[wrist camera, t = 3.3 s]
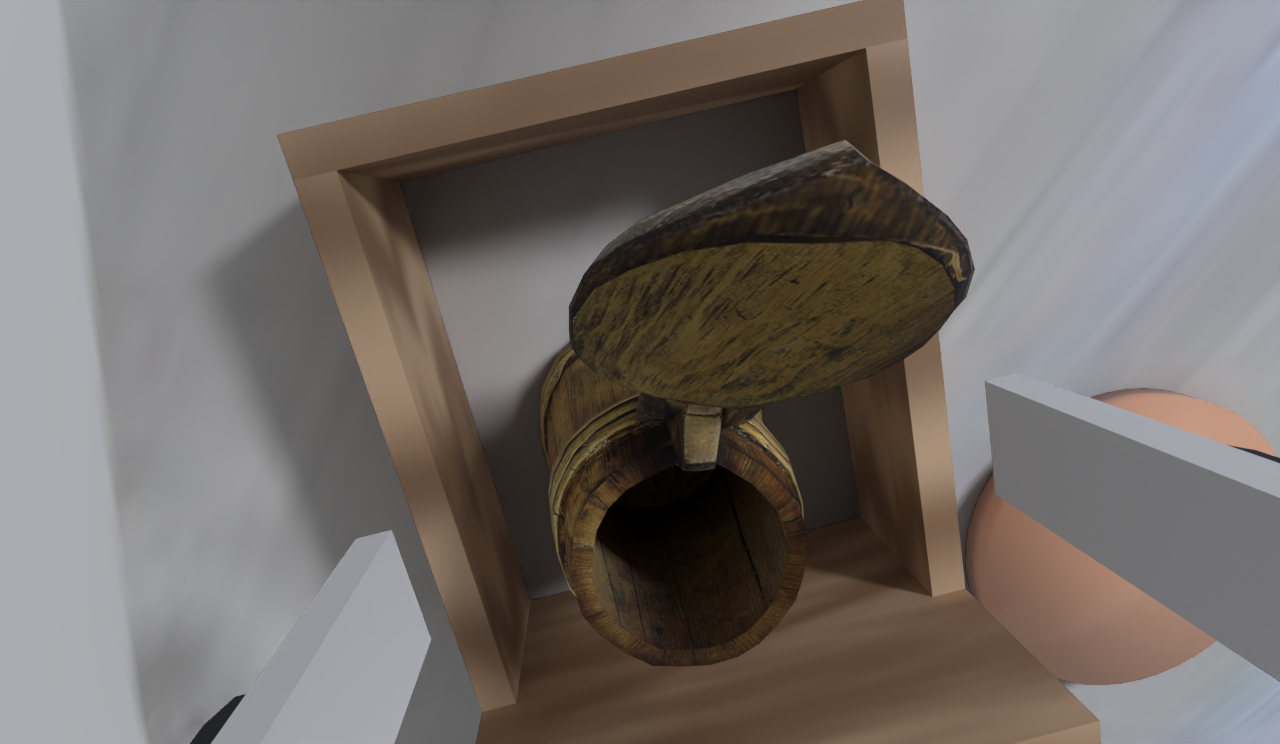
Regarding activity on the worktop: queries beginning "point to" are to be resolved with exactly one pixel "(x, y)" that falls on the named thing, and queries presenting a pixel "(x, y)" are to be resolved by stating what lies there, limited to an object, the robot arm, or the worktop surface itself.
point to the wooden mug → (726, 390)
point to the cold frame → (836, 554)
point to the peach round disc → (1089, 572)
